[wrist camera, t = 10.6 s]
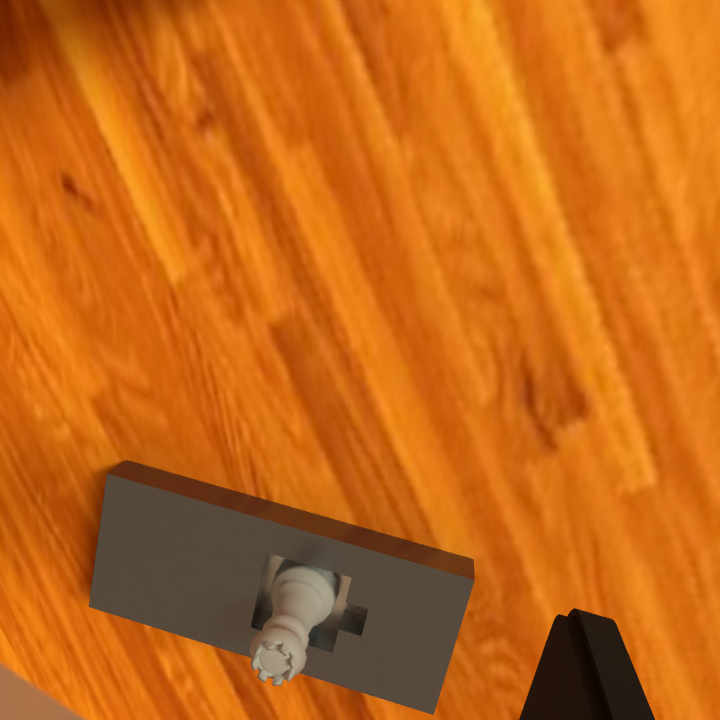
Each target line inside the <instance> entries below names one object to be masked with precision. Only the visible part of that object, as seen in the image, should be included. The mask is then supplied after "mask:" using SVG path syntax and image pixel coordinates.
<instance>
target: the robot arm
mask: <svg viewBox="0 0 720 720" xmlns="http://www.w3.org/2000/svg"><path fill="white" fill-rule="evenodd" d="M519 720H655V718H654V716H653V713H652V711H651V708H650V706H649V704H648V701H647V699H646V696H645V694H644V691H643V689H642V686H641V684H640V681H639V679H638V676H637V674H636V672H635V669H634V667H633V664H632V662H631V659H630V657H629V654H628V652H627V649H626V647H625V645H624V642H623V640H622V637H621V635H620V632H619V630H618V627H617V625H616V623H615V622H614V620H612V619H610V618H606V617H603V616H599V615H596V614H592V613H589V612H585V611H582V610H579V609H575V608H574V609H573V610H571V612H570V613H569V614H568V617H567V616H563V615H560V614H559V615H557V616H556V618H555V619H554V622H553V624H552V627H551V630H550V633H549V636H548V639H547V641H546V644H545V647H544V650H543V653H542V656H541V659H540V662H539V664H538V667H537V670H536V673H535V676H534V679H533V682H532V684H531V687H530V690H529V693H528V696H527V699H526V702H525V704H524V707H523V710H522V713H521V716H520V719H519Z"/></svg>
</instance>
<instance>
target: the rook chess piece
mask: <svg viewBox="0 0 720 720" xmlns="http://www.w3.org/2000/svg"><path fill="white" fill-rule="evenodd" d="M338 594H339V589H338V583H337V579H336V578H335V576H334V574H333V573H332V572H331V571H327V570H324V569H320V568H317V567H314V566H310V565H307V564H303V563H300V562H297V561H293V560H288V561H286V562H284V563H283V564H282V565H281V566H280V568H279V569H278V570H277V571H276V574H275V578H274V579H273V582H272V586H271V591H270V596H271V601H272V606H273V614H272V617H271V618H270V619H268V620H267V622H266V623H265V624H264V626H263V630H262V631H260V632H258V633H257V634H256V636H255V637H254V638H253V639H252V642H251V646H250V653H251V658H252V660H251V667H252V670H256V669H257V668H258V670H259V671H260V672H259V674H258V677H257V678H258V679H260V680H261V681H262V682H265V680H266V678H267V677H268V678H272V679H273V686H276V685H282V682H283V680H284V679H286V680H287V681H288V682H289V681H290V680H291V679H292V678H293V677H294V676H296V675H298V674H299V673H300V671H301V670H302V669H303V668H304V666H305V662H306V658H307V657H306V652H305V649H306V648H307V645H308V641H309V637H308V634H309V632H310V631H311V629H312V627H314V626H316V625H317V624H319V623H321V622H323V621H324V620H325V619H326V618H327V616H328V615H329V614H330V613H331V612H332V610H333V607H334V605H335V604H336V601H337V597H338Z"/></svg>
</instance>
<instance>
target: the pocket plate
mask: <svg viewBox="0 0 720 720" xmlns="http://www.w3.org/2000/svg"><path fill="white" fill-rule="evenodd" d="M288 560H293V561H297V562H300V563H303V564H307V565H310V566H314V567H317V568H320V569H324V570H327V571H331V572H332V573H333V574H334V576H335V578H336V579H337V583H338V589H339V594H338V597H337V601H336V604H335V605H334V607H333V610H332V612H331V613H330V614H329V615H328V616H327V618H326V619H325V620H324V621H323V622H321V623H319V624H317V625H316V626H314V627H312V629H311V631H310V632H309V634H308V637H309V641H308V645H307V648H306V649H305V652H306V657H307V658H306V662H305V666H304V668H303V669H302V670H301V671H300V673H301V674H305V675H308V676H311V677H314V678H317V679H321V680H324V681H327V682H330V683H333V684H337V685H340V686H343V687H346V688H349V689H352V690H356V691H359V692H362V693H365V694H368V695H372V696H375V697H378V698H381V699H384V700H388V701H391V702H394V703H397V704H400V705H404V706H407V707H410V708H413V709H416V710H419V711H423V712H426V713H429V714H432V715H433V714H434V711H435V708H436V705H437V701H438V698H439V695H440V692H441V688H442V685H443V682H444V678H445V675H446V672H447V669H448V665H449V662H450V659H451V656H452V652H453V649H454V646H455V642H456V639H457V636H458V633H459V629H460V626H461V623H462V620H463V616H464V613H465V610H466V606H467V603H468V600H469V597H470V593H471V590H472V587H473V584H474V580H475V579H474V560H473V559H470V558H467V557H463V556H460V555H456V554H453V553H449V552H446V551H442V550H439V549H435V548H432V547H428V546H425V545H421V544H418V543H414V542H411V541H407V540H404V539H400V538H397V537H393V536H390V535H386V534H383V533H379V532H376V531H372V530H369V529H365V528H362V527H358V526H355V525H351V524H348V523H344V522H341V521H337V520H334V519H330V518H327V517H323V516H320V515H316V514H313V513H309V512H306V511H302V510H299V509H295V508H292V507H288V506H285V505H281V504H278V503H274V502H271V501H267V500H264V499H260V498H257V497H253V496H250V495H246V494H243V493H239V492H236V491H232V490H229V489H225V488H222V487H218V486H215V485H211V484H208V483H204V482H201V481H197V480H194V479H190V478H187V477H183V476H180V475H176V474H173V473H169V472H166V471H162V470H159V469H155V468H152V467H148V466H145V465H141V464H138V463H134V462H131V461H127V460H126V461H125V462H123V463H122V464H120V465H119V466H117V467H116V468H115V469H113V470H112V471H110V472H109V473H107V478H106V485H105V492H104V500H103V507H102V514H101V521H100V529H99V536H98V543H97V550H96V558H95V565H94V572H93V580H92V587H91V594H90V601H89V607H91V608H94V609H97V610H101V611H104V612H107V613H110V614H113V615H116V616H120V617H123V618H126V619H129V620H132V621H136V622H139V623H142V624H145V625H148V626H152V627H155V628H158V629H161V630H164V631H167V632H171V633H174V634H177V635H180V636H183V637H187V638H190V639H193V640H196V641H199V642H203V643H206V644H209V645H212V646H215V647H219V648H222V649H225V650H228V651H231V652H234V653H238V654H241V655H244V656H247V657H250V658H251V653H250V646H251V642H252V639H253V638H254V637H255V636H256V634H257V633H258V632H260V631H262V630H263V626H264V624H265V623H266V622H267V620H268V619H270V618H271V617H272V614H273V606H272V601H271V596H270V591H271V586H272V582H273V579H274V578H275V574H276V571H277V570H278V569H279V568H280V566H281V565H282V564H283V563H284V562H286V561H288Z"/></svg>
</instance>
